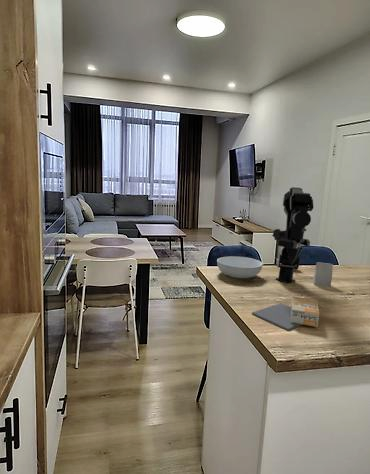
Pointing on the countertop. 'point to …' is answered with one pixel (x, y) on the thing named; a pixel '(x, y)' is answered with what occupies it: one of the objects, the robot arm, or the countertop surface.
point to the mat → (277, 316)
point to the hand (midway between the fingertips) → (290, 264)
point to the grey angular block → (323, 274)
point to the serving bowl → (239, 266)
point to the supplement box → (304, 311)
